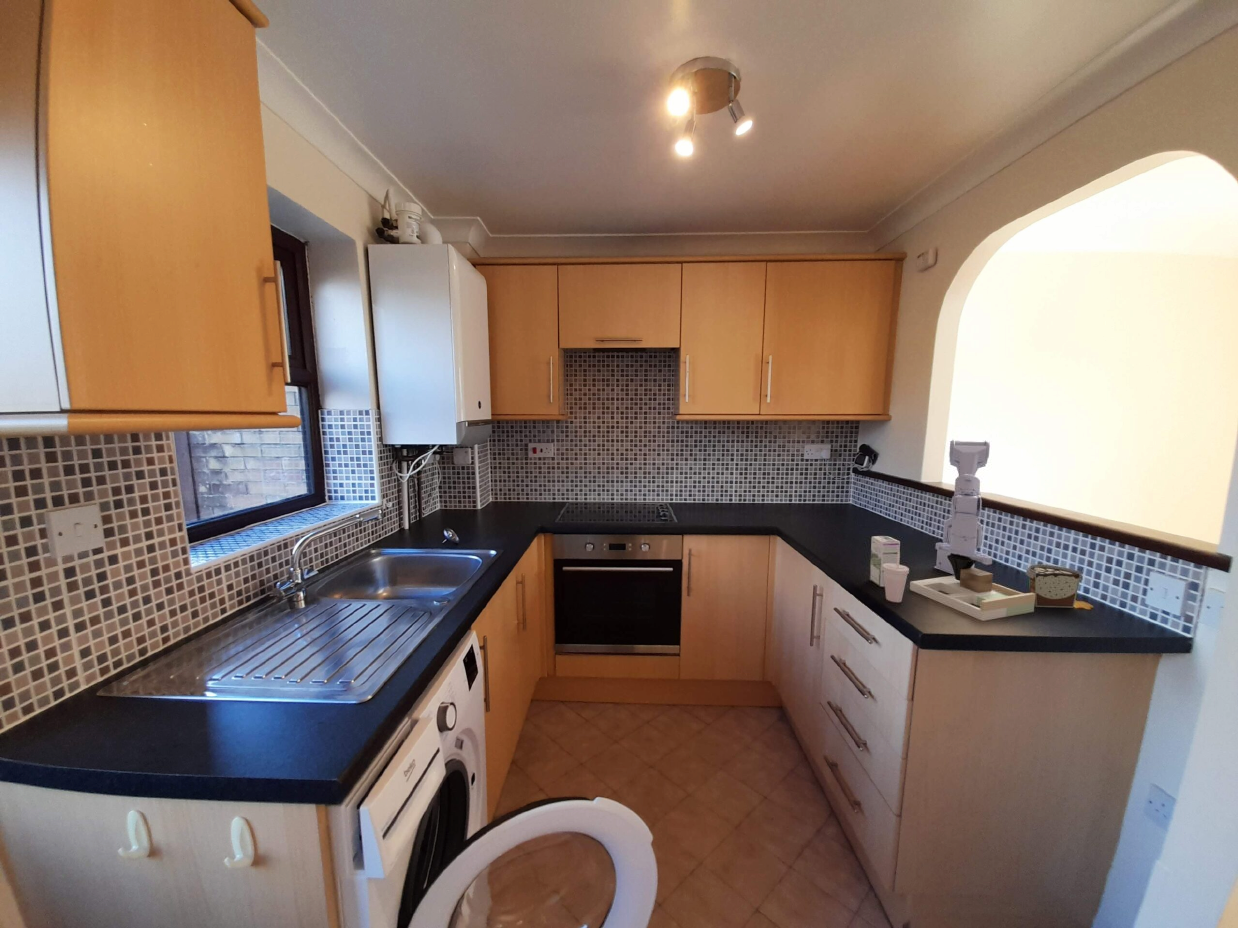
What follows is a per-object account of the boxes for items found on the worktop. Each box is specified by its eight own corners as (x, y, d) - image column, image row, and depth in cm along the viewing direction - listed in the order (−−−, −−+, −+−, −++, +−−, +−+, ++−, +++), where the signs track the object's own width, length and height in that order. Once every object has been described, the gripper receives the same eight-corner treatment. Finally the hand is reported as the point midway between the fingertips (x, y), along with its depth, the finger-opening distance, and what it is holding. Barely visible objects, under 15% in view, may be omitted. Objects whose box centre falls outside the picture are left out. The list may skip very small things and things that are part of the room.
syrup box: (898, 586, 126) (901, 541, 124) (879, 586, 126) (882, 541, 125) (887, 579, 132) (889, 535, 130) (868, 579, 132) (870, 535, 130)
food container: (1057, 597, 117) (1061, 564, 116) (1079, 607, 111) (1083, 572, 110) (1010, 596, 118) (1013, 563, 117) (1029, 606, 112) (1033, 571, 111)
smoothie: (911, 605, 114) (915, 556, 112) (886, 603, 115) (889, 555, 114) (900, 595, 120) (903, 549, 119) (876, 593, 121) (879, 548, 120)
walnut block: (959, 585, 120) (960, 569, 120) (972, 583, 121) (974, 567, 121) (977, 592, 115) (979, 575, 115) (991, 590, 116) (993, 573, 116)
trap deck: (909, 589, 124) (910, 573, 124) (955, 582, 128) (957, 567, 128) (982, 620, 105) (984, 602, 104) (1033, 611, 109) (1035, 593, 109)
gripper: (929, 529, 127) (926, 572, 128) (980, 543, 113) (976, 591, 114) (946, 528, 128) (943, 569, 130) (999, 541, 114) (995, 588, 116)
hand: (960, 579), depth 122 cm, fingers closed
